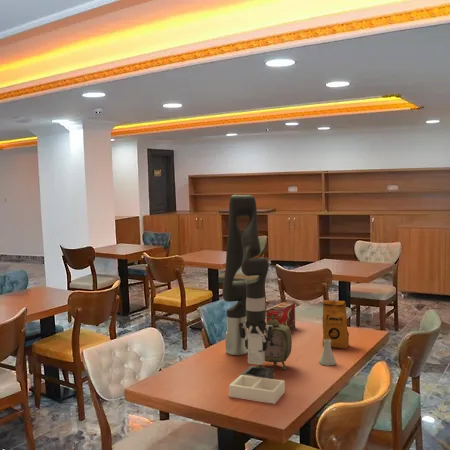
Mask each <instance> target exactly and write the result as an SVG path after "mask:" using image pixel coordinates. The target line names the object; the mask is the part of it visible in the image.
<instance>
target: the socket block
mask: <svg viewBox="0 0 450 450" xmlns="http://www.w3.org/2000/svg"><path fill="white" fill-rule="evenodd" d="M240 375H247V376H254V377H261V378H269V379H275V369H274V368H272V367H265V366H262V367H258V365H257V366H256V365H249V366H248V367H247V368H246V369H245V370H244V371H242V372H241V373H240V374H239V376H240Z"/></svg>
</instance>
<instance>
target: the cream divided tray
mask: <svg viewBox="0 0 450 450" xmlns="http://www.w3.org/2000/svg"><path fill="white" fill-rule="evenodd" d="M285 381H286V380H283V379H282V380H281V379H275V378H273V379H269V378H261V377H254V376H247V375H240V374H239V376H237V378H235V379H234V380H233V381H232V382H231V383H230V384H229V385H228V397H229V398H236V399H242V400H249V401H255V402H259V403H267V404H274V405H276V404H277V402H278V401H279V400H280V398H281V397H282V396H283V395H284V393H286V383H285Z"/></svg>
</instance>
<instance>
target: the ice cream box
mask: <svg viewBox="0 0 450 450" xmlns="http://www.w3.org/2000/svg"><path fill="white" fill-rule="evenodd" d="M268 309H277V310H279V311H280V313H281V316H280V313H279V312H278V311H274V310H269V311H267V312H266V315H267V316H269V317H272V315H274V317H278V316H280V317H279V318H277V319H276V320H277V321H278V322H279V324H281V325H286V326H288V327H289V328H290V331H292V330H294V329H295V328H296V304H295V303H294V302H288V301H287V302H286V301H283V302H282V303H279V304H276V305H275V306H272V307H270V308H268ZM268 309H266V310H268ZM270 319H271V318H268V317H266V316H265V322H266V324H267V322H268V321H269V320H270ZM293 328H294V329H293Z"/></svg>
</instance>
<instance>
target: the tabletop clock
mask: <svg viewBox="0 0 450 450" xmlns="http://www.w3.org/2000/svg"><path fill="white" fill-rule="evenodd" d="M269 310H274V311H278V312H279V313H280V311H279V310H277V309H269V308H268V310H267V309H265V318H266V317H268V318H271V319H270V320H269V321H268V322H267V325H273V336H272V339H271V340H270V341H268V342H267V344H268V345H267V346H268V348H267V350H266V351H265V361H264V362H267V363H268V362H269V363H272V364H273V366H277V364H278V363H281V364H282V365H283V367H282V369H283V370H284V371H286V370H287V369H288V368H287V366H286V365H285V362H286V361H287V360H288V358H289V357H290V355H291V353H292V347H293V346H292V345H293V344H292V343H293V340H292V330H290V328H289V327H288V326H286V325H281V324H279V322H278V321H277V320H276V319H277V318H279V317H280V316H281V313H280V316H278V317H274V315H272V317H269V316H267V315H266V312H267V311H269ZM264 330H265V332H266V336H267V337H268V331H267V328H265V329H264ZM257 367H263V364H262V365H258V364H257Z"/></svg>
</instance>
